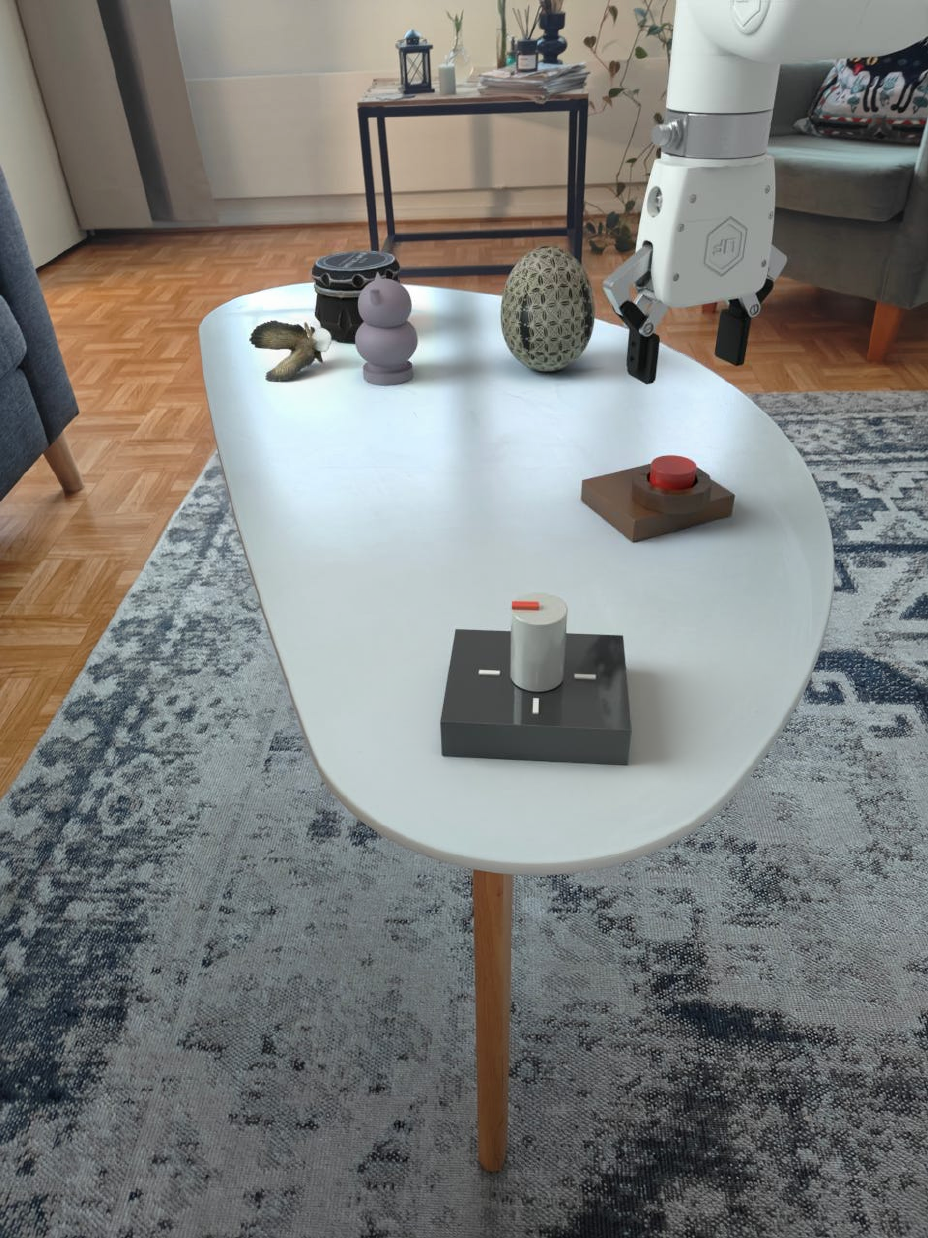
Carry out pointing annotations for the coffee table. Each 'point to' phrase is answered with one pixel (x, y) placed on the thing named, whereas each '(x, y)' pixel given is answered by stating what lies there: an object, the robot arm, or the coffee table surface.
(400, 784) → the coffee table surface
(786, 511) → the coffee table surface
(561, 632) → the hob knob
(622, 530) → the power block
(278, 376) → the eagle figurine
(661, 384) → the coffee table surface
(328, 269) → the container
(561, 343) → the decorative egg
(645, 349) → the robot arm
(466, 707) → the hob panel
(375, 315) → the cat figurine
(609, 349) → the coffee table surface
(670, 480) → the power button
